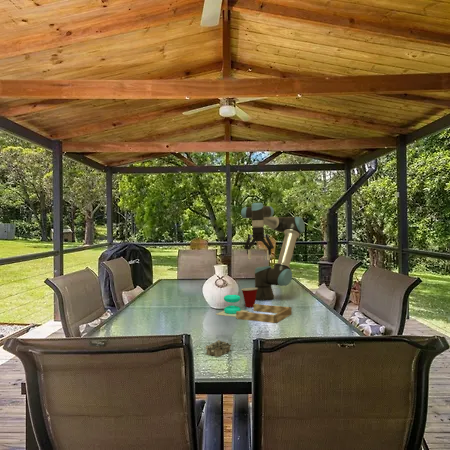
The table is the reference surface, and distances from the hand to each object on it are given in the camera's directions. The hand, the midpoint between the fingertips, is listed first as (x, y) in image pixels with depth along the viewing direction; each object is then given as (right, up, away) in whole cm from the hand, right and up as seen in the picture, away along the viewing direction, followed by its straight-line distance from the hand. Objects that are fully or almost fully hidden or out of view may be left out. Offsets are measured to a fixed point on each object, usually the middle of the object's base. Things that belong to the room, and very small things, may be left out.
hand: (259, 259), depth 251 cm
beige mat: (-18, -31, -17) cm, 39 cm away
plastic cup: (-6, -31, +1) cm, 31 cm away
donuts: (-18, -30, -17) cm, 39 cm away
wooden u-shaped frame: (+1, -30, -27) cm, 41 cm away
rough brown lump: (-25, -31, -90) cm, 98 cm away
